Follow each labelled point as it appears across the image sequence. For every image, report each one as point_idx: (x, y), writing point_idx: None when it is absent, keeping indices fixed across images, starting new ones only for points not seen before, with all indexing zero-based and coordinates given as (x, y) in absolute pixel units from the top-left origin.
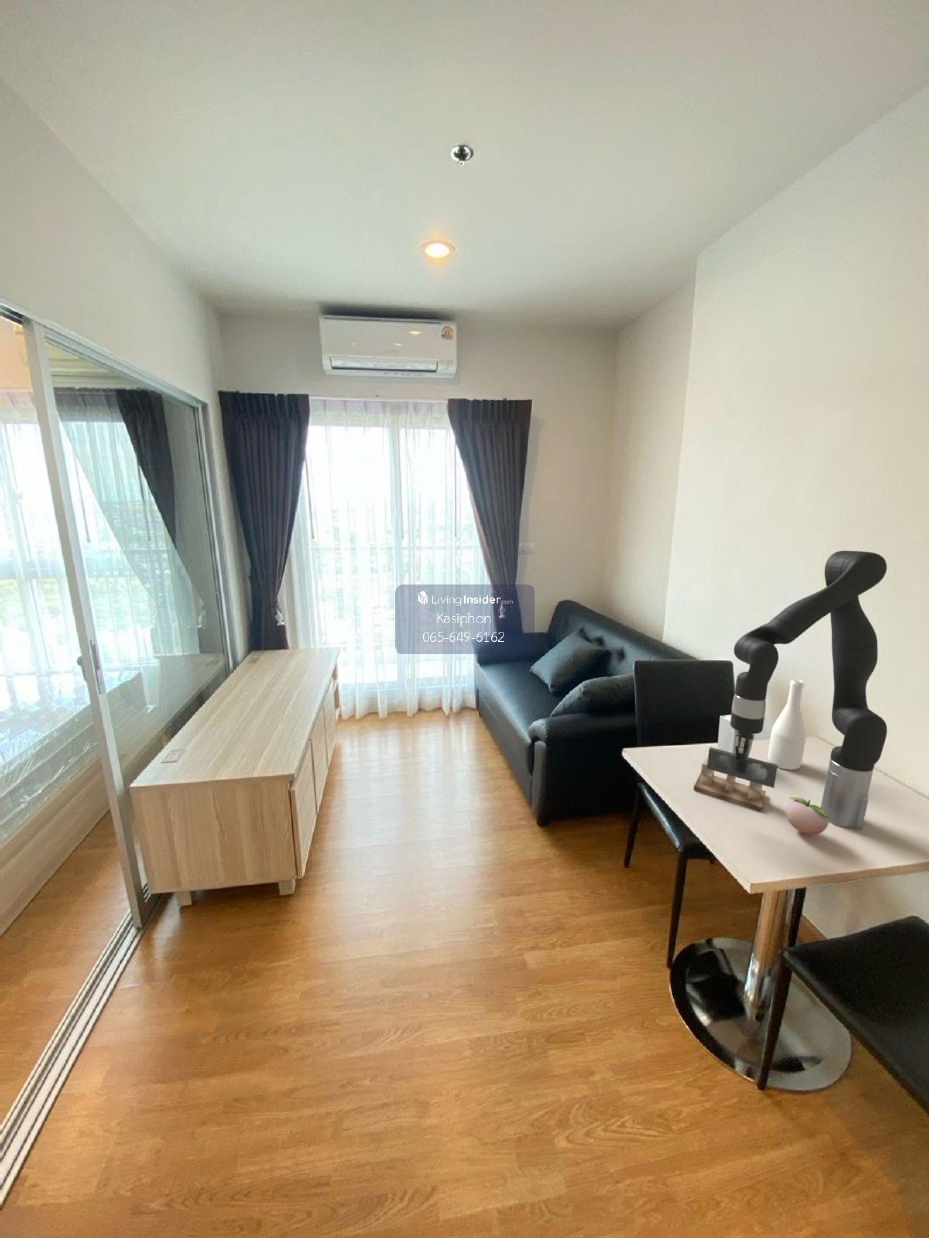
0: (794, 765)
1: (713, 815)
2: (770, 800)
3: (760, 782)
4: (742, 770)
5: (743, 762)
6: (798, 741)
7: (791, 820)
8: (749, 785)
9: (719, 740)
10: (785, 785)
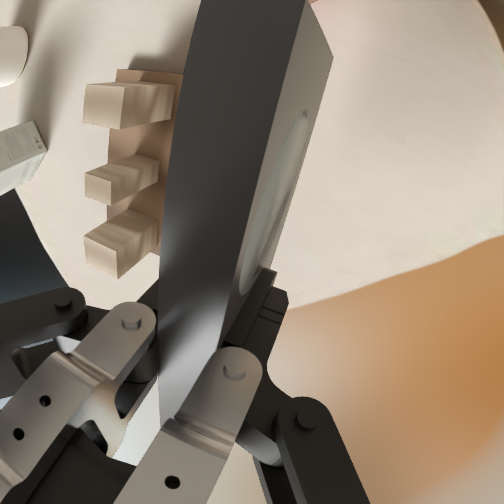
0: (18, 33)
1: (299, 229)
2: (146, 55)
3: (306, 143)
4: (285, 307)
5: (265, 367)
6: None
7: (313, 1)
8: (142, 124)
9: (3, 192)
10: (73, 33)
